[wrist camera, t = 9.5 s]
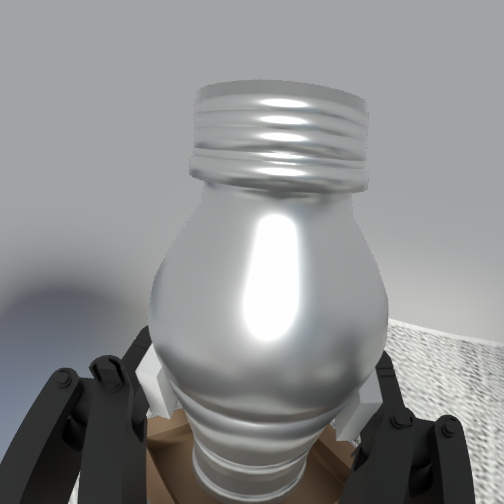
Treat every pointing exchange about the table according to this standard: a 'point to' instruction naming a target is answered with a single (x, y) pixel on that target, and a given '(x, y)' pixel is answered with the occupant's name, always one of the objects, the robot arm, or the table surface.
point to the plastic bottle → (269, 284)
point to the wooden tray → (197, 500)
